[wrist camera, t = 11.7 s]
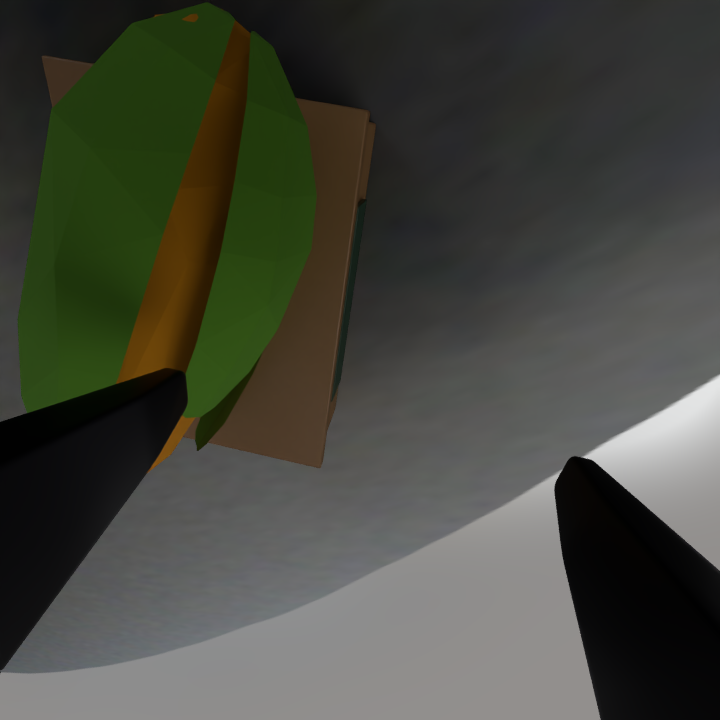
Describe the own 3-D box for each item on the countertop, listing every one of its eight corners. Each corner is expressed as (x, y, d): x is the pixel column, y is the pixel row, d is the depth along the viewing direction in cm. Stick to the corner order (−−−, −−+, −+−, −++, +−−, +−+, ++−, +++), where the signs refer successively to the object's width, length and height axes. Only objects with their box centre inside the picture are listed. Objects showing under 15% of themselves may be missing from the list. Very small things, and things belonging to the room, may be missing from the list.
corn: (340, 91, 6) (120, 610, 16) (402, 123, 13) (218, 477, 23) (-93, -195, 6) (-45, 519, 16) (202, -8, 12) (104, 411, 22)
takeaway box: (134, 74, 18) (40, 54, 14) (384, 116, 17) (368, 110, 13) (170, 376, 26) (119, 423, 22) (339, 413, 26) (320, 469, 21)
